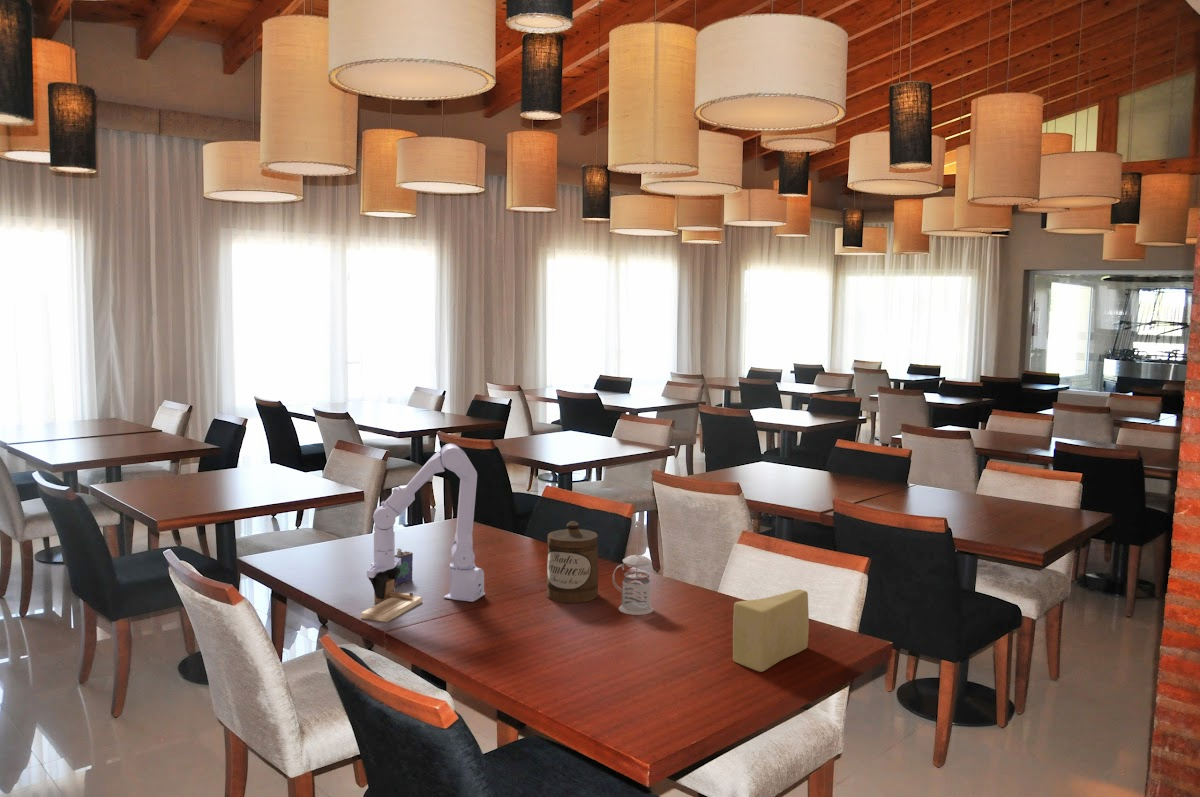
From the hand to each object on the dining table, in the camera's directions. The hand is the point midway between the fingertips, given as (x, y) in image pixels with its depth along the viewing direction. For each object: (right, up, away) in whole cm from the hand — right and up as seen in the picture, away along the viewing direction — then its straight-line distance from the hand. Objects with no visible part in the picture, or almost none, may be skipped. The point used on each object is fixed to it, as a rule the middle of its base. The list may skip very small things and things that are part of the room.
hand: (384, 596), depth 262 cm
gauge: (+3, -2, -1) cm, 4 cm away
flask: (+1, 0, +17) cm, 17 cm away
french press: (+70, -3, -3) cm, 70 cm away
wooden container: (+53, -2, +8) cm, 54 cm away
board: (+4, -2, -8) cm, 9 cm away
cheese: (+104, -7, -38) cm, 111 cm away
